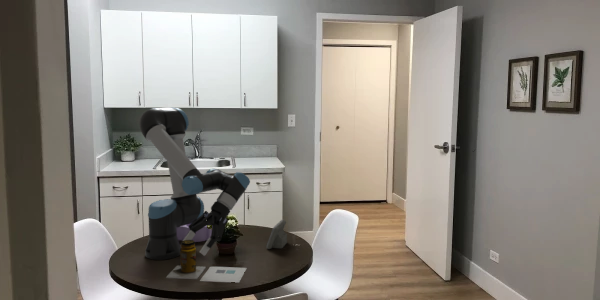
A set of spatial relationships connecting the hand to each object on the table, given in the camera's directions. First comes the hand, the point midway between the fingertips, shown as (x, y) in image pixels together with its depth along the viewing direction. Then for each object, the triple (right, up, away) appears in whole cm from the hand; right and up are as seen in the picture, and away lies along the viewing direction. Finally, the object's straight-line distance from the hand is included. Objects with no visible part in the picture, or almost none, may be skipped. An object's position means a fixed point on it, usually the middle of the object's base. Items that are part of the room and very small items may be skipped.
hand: (192, 249), depth 185 cm
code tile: (+13, -9, -1) cm, 16 cm away
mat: (-2, -9, 0) cm, 9 cm away
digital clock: (+31, -6, +36) cm, 48 cm away
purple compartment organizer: (-11, -4, +46) cm, 47 cm away
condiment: (-3, -9, +1) cm, 9 cm away
